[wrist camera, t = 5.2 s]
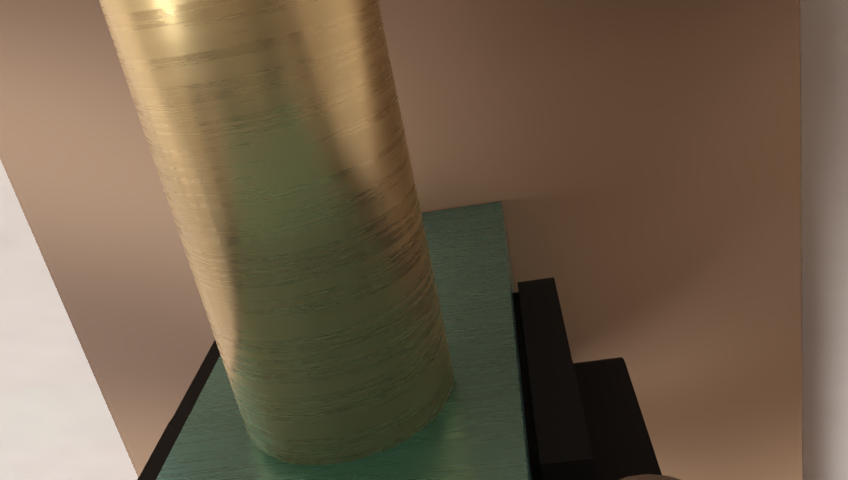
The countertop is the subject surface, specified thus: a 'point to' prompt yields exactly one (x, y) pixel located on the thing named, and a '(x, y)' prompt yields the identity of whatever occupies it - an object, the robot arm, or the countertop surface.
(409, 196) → the brass rod with block
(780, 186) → the walnut board
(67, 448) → the countertop surface
